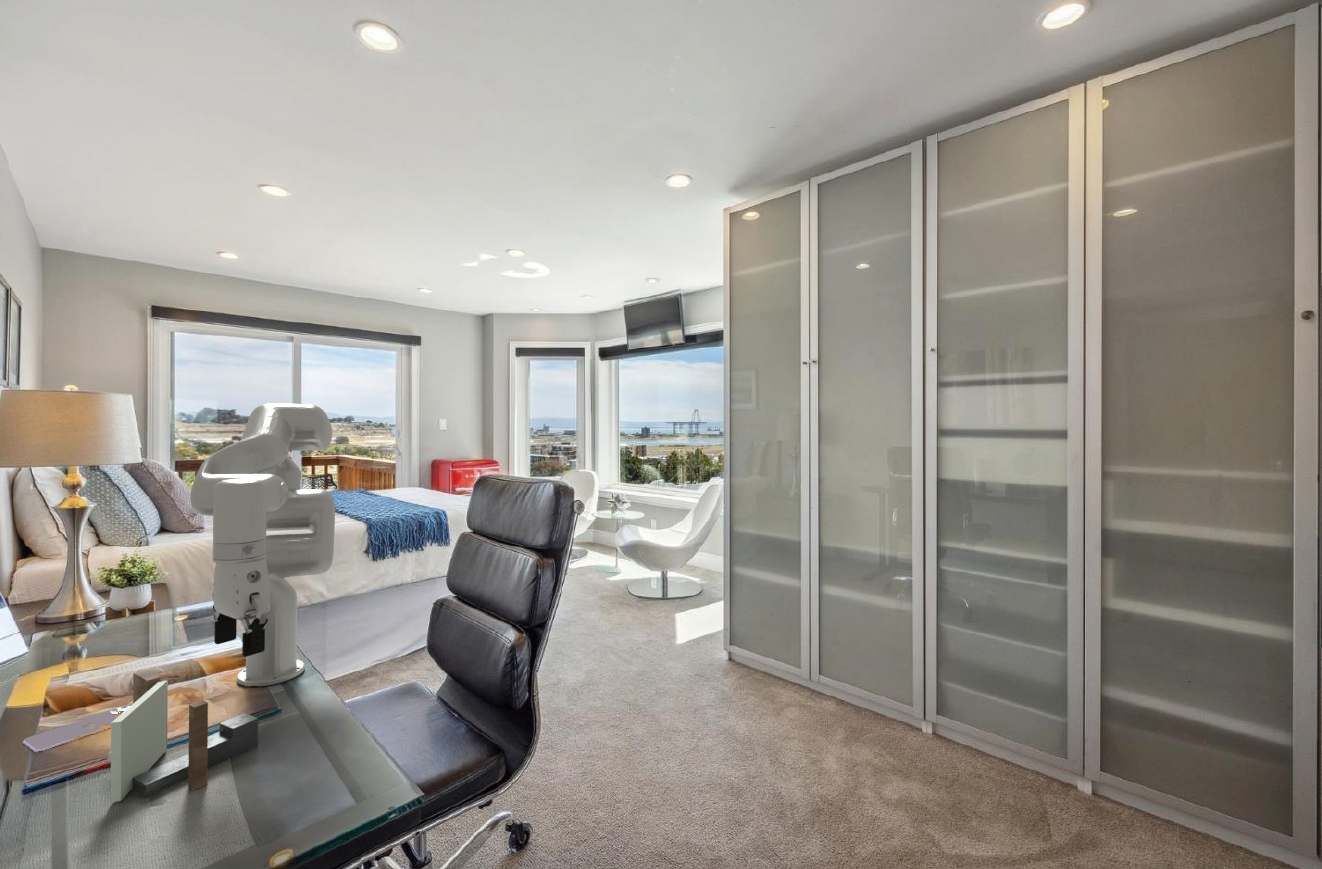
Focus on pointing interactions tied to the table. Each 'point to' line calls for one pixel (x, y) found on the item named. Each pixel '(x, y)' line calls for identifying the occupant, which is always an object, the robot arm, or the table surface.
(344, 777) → the table surface
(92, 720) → the mobile phone
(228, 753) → the dark gray beam
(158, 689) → the door
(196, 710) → the wooden posts
